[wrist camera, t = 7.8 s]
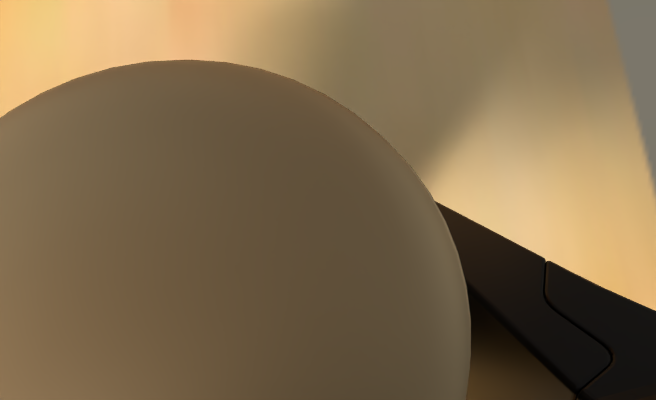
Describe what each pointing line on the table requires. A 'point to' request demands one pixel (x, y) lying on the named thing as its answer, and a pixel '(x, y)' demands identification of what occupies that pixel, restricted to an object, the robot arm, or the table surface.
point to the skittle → (219, 246)
